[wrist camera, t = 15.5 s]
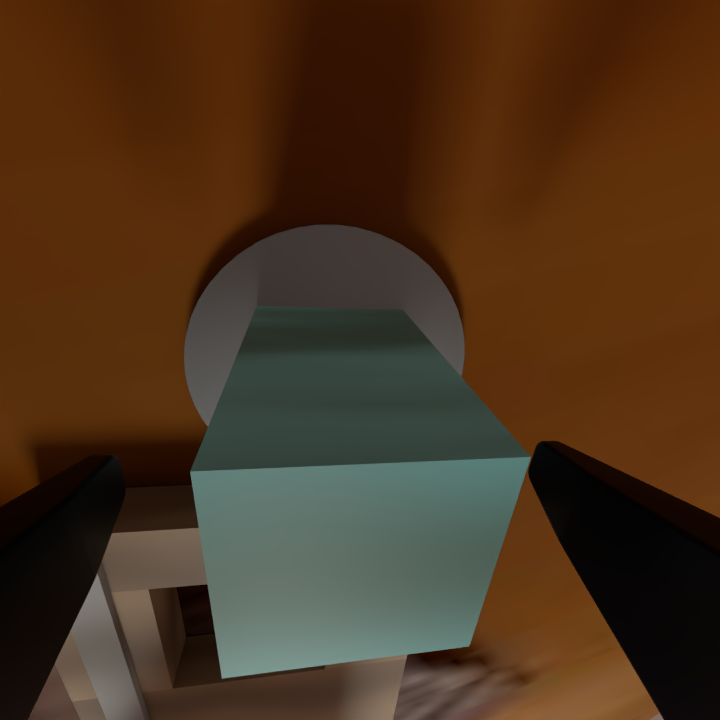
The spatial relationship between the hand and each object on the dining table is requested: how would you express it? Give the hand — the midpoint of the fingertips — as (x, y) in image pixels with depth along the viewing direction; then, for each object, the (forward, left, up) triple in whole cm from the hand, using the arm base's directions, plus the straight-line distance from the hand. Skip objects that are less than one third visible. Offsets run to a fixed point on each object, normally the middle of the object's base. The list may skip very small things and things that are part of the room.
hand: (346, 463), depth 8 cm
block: (0, 0, -4) cm, 4 cm away
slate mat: (0, 0, -5) cm, 5 cm away
